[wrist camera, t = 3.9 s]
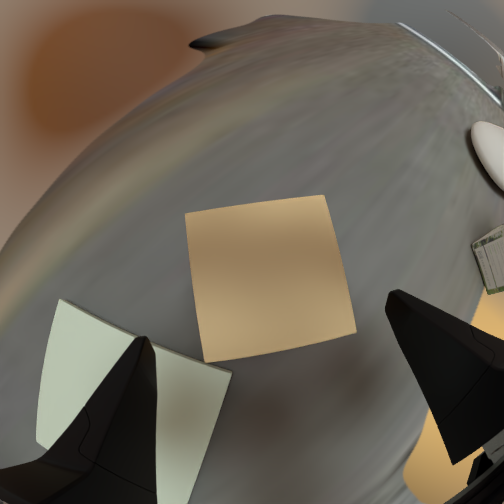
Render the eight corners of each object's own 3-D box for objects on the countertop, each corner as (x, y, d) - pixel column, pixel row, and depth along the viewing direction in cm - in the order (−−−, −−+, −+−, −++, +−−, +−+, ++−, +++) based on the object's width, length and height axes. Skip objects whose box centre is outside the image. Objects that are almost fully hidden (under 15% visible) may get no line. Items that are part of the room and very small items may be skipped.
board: (232, 371, 17) (231, 373, 16) (183, 512, 13) (181, 518, 12) (66, 300, 18) (59, 298, 17) (42, 437, 14) (35, 440, 13)
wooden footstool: (297, 331, 18) (356, 332, 8) (224, 344, 18) (205, 363, 8) (283, 260, 19) (323, 194, 10) (212, 272, 19) (184, 213, 9)
